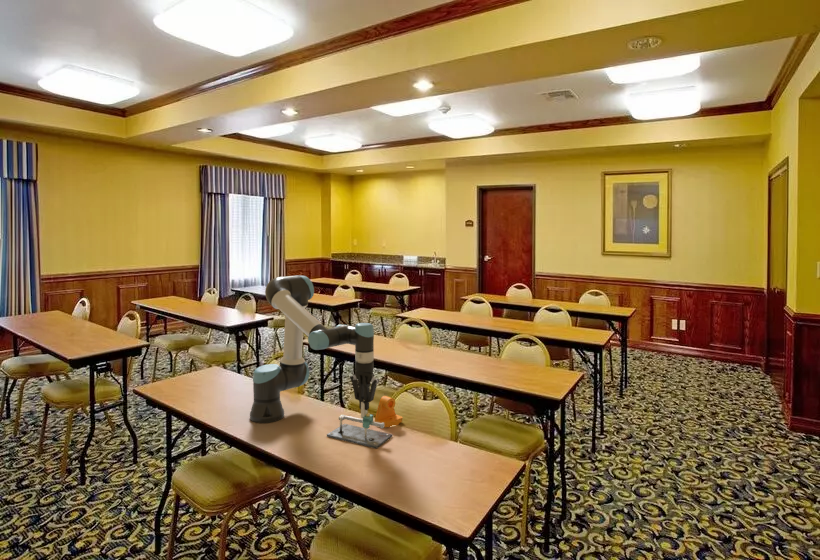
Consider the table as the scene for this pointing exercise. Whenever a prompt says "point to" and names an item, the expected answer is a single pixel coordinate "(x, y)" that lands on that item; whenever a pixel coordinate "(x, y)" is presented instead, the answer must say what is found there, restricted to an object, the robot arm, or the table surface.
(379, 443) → the bolt plate
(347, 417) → the dividers bar
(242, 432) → the table surface
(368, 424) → the sliding leg
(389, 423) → the bracket
